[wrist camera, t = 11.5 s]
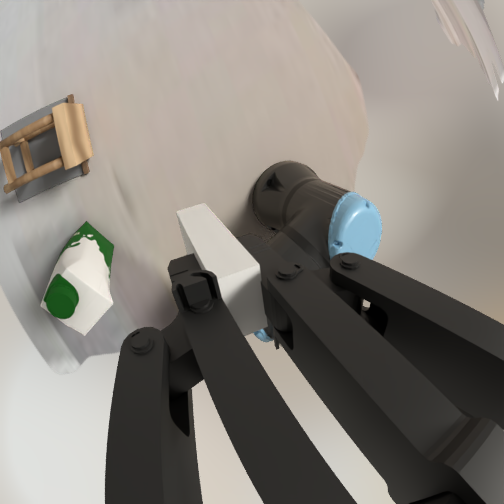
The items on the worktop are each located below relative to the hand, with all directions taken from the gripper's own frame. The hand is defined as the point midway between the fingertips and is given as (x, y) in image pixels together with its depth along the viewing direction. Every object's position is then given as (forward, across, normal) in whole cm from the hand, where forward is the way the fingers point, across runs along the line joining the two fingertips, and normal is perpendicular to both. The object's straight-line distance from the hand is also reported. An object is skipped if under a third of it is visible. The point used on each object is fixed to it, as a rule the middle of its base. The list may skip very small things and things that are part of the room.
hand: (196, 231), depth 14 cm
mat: (+34, +20, -8) cm, 40 cm away
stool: (+29, +10, -8) cm, 31 cm away
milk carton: (+35, +16, +12) cm, 40 cm away
